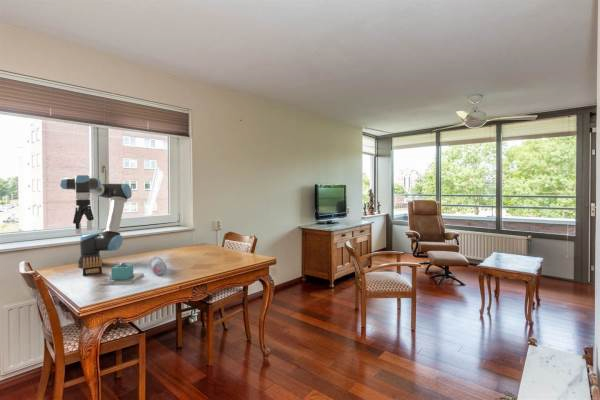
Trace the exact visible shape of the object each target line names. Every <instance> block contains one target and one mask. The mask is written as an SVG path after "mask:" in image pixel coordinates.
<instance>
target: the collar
mask: <svg viewBox="0 0 600 400" xmlns="http://www.w3.org/2000/svg"><path fill="white" fill-rule="evenodd" d="M110 269H111V270H110V271H111V273H110V274H111V275H110V276H112V280H113V279H128V278H130V277H131V276H132V275H133V273H134V263H133V264H132V263H127V264H126V263H125V267H120V263H118V264H117V265H115V266H113V267H111V268H110Z"/></svg>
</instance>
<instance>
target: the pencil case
mask: <svg viewBox="0 0 600 400" xmlns="http://www.w3.org/2000/svg"><path fill="white" fill-rule="evenodd" d="M149 266H150V270H152V272H153V273H154V275H156V276H162V275H164V274H165V273H166V272H167V268H168V267H167V264H166V263H165V262H164V261H163V259H162V258H161V257H160V256H154V257H152V258H151V259H150V262H149Z"/></svg>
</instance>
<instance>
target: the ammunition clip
mask: <svg viewBox="0 0 600 400" xmlns="http://www.w3.org/2000/svg"><path fill="white" fill-rule="evenodd" d="M101 258H102V256H101V255H100V257H99V262H98V257H96V263H95V257H93V267H92V258H91V257H90V263H89V259H88V257H87V260H86V262H85V258H84V259H83V267H82V276H83V277H86V276H93V275H102V274H103V264H102V261H103V260H102V261H101Z"/></svg>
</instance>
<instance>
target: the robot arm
mask: <svg viewBox="0 0 600 400" xmlns="http://www.w3.org/2000/svg"><path fill="white" fill-rule="evenodd" d="M59 185H60V188H61V189H63V190H74V191H75V199H76V200H75V205H76V207H75V212H74V216H73V221H72V224H75V235H81V236H80V238H79V239H80V241H79V243H80V257H79V259H78V262H77V267H78V268H83V259H84V258H85V262H86V260H87V257H88V259H89V263H90V257H91V258H92V267H93V257H95V263H96V257H98V262H99V257H100V256H101V254H100V252H105V251H106V252H113V251H117V250H119V249H120V248H121V247H122V244H123V237H122V235H121V232H120V226H121V221H122V215H123V212H124V207H125V204H126V202H128V199H131V198H132V195H133V193H132V187H131V186H130V185H129V183H102V182H101V180H100V179H99V178H95V177H92V178H91V177H90V176H89V175H87V174H84V175H83V174H79V175H78V174H77V175H75V177H64V178H63V177H62V178H61V179H60V181H59ZM91 194H93V196H96V197H100V198H105V199H106V198H107V199H110V201H111V203H110V208H109V213H108V217H107V221H106V226H105V230H103V231H102V234H100V233H99V232H93V233H87V234H83V235H82V223H81V222H82V218H83V216H85V218H86V229H87V231H92V230H93V221H94V218H95V217H94V215H93V210H92V206H91ZM77 206H78V207H77ZM101 261H102V265H103V263H104V262H103V259H102V257H101Z"/></svg>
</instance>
